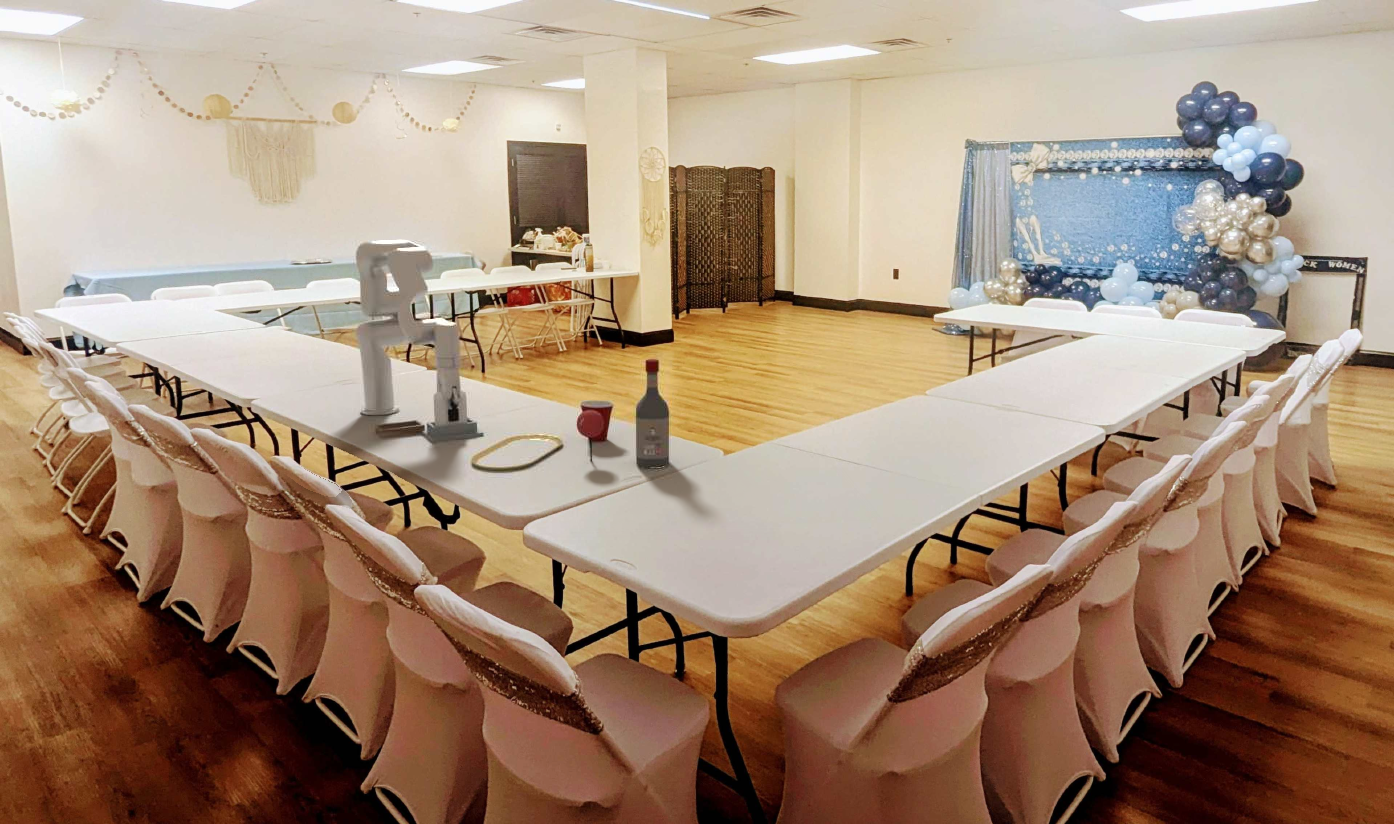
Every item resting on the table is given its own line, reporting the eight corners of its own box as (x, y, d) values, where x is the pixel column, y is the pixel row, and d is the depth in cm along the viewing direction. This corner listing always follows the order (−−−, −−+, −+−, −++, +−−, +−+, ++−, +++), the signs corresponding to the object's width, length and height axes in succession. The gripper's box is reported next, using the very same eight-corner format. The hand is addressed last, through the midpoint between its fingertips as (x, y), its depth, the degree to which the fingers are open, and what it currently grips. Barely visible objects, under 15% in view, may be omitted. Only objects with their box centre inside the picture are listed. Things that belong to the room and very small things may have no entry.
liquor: (669, 468, 254) (669, 363, 247) (636, 468, 253) (635, 363, 246) (667, 458, 263) (667, 357, 255) (636, 459, 262) (635, 357, 255)
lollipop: (578, 457, 263) (576, 407, 259) (604, 457, 264) (603, 407, 260) (577, 465, 256) (575, 414, 252) (604, 465, 256) (603, 413, 253)
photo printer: (465, 423, 290) (463, 386, 287) (469, 426, 286) (467, 388, 283) (433, 428, 284) (430, 389, 281) (437, 431, 281) (435, 392, 278)
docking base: (421, 433, 287) (420, 421, 286) (470, 427, 295) (470, 415, 294) (432, 442, 277) (432, 430, 276) (483, 435, 285) (482, 423, 284)
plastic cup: (620, 436, 286) (620, 399, 283) (606, 445, 276) (605, 407, 273) (589, 433, 289) (588, 396, 286) (574, 441, 279) (573, 404, 276)
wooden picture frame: (375, 432, 287) (374, 425, 286) (418, 427, 294) (417, 419, 293) (381, 438, 281) (380, 430, 280) (425, 432, 288) (424, 425, 287)
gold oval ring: (572, 442, 280) (572, 437, 280) (518, 475, 248) (518, 470, 247) (518, 436, 286) (518, 431, 285) (458, 468, 253) (458, 463, 253)
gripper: (427, 358, 285) (431, 415, 290) (444, 368, 271) (447, 427, 276) (451, 356, 289) (454, 412, 294) (468, 365, 275) (471, 423, 280)
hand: (451, 418), depth 285 cm, fingers closed on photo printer, 4 cm apart
